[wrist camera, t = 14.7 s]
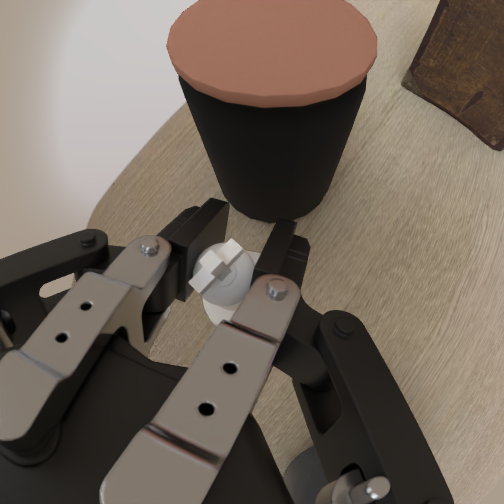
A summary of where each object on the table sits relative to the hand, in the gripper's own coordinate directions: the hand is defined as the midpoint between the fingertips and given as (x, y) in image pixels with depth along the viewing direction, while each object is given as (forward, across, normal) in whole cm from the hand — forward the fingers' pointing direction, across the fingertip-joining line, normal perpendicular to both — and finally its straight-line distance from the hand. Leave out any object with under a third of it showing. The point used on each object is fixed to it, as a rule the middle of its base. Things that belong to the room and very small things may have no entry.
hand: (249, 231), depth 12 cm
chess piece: (+3, 0, +6) cm, 6 cm away
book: (+31, -18, -9) cm, 37 cm away
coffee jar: (+18, +2, +4) cm, 19 cm away
